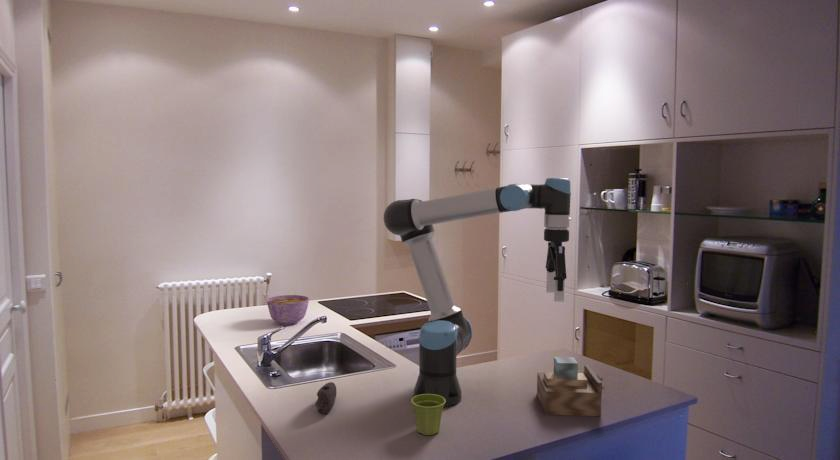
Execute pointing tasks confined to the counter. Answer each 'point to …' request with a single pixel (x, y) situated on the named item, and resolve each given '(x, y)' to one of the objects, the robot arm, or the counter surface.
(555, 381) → the blue cube on tile
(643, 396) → the counter surface
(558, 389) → the dock
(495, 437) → the counter surface
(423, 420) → the plant pot
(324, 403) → the perforated stone tool
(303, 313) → the bowl of food
